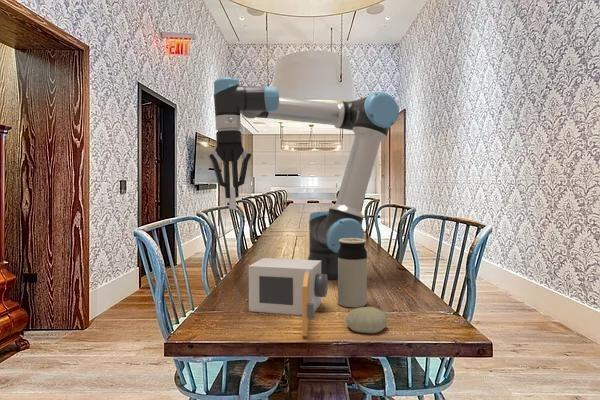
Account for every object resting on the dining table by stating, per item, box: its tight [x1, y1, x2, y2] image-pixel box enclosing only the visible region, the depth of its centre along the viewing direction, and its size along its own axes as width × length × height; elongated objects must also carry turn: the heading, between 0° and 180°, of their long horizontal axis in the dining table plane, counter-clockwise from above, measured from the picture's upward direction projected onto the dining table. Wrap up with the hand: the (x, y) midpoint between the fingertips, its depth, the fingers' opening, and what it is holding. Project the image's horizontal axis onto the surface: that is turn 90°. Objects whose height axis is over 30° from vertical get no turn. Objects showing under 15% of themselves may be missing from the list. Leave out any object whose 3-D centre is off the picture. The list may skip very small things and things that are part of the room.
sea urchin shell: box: [345, 306, 388, 334], centre depth 102 cm, size 9×8×8 cm
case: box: [248, 257, 329, 316], centre depth 118 cm, size 19×13×12 cm
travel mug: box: [337, 238, 368, 309], centre depth 121 cm, size 8×8×18 cm
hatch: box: [302, 273, 315, 337], centre depth 102 cm, size 14×2×11 cm, turn 177°
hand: (232, 208), depth 133 cm, fingers closed
